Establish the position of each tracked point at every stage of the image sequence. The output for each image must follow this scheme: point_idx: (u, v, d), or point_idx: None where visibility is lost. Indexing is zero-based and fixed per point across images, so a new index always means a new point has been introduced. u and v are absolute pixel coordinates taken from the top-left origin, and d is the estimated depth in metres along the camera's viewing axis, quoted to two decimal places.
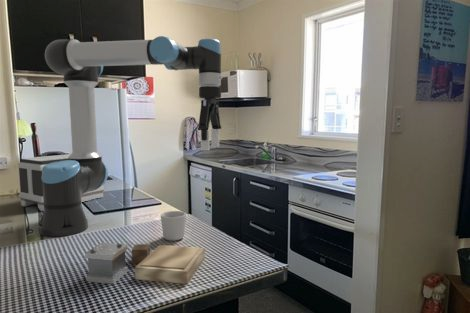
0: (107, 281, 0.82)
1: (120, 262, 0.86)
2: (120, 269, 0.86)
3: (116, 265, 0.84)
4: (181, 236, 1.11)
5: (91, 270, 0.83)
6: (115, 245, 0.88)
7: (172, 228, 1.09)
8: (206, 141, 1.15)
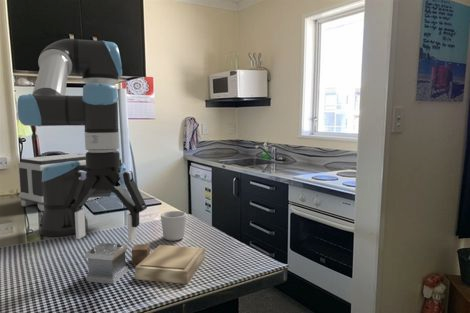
0: (107, 281, 0.82)
1: (120, 262, 0.86)
2: (120, 269, 0.86)
3: (116, 265, 0.84)
4: (181, 236, 1.11)
5: (91, 270, 0.83)
6: (115, 245, 0.88)
7: (172, 228, 1.09)
8: None
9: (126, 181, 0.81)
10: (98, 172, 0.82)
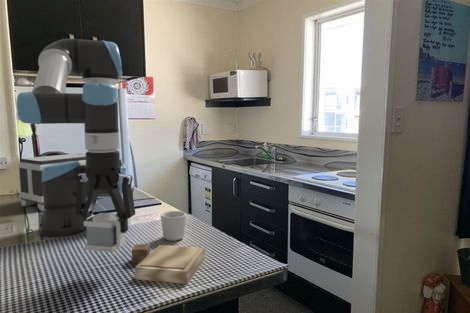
0: (106, 249, 0.82)
1: None
2: None
3: (115, 234, 0.84)
4: (181, 236, 1.11)
5: (90, 238, 0.83)
6: (114, 215, 0.87)
7: (172, 228, 1.09)
8: None
9: (124, 186, 0.82)
10: (98, 172, 0.82)
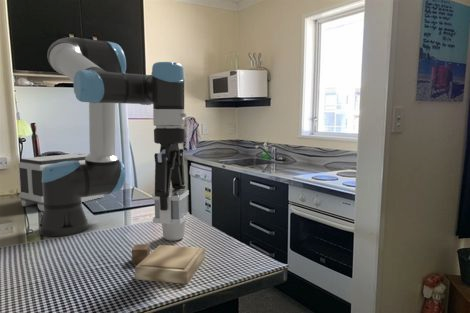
0: (187, 216, 0.90)
1: None
2: None
3: None
4: (181, 236, 1.11)
5: (180, 211, 0.86)
6: None
7: (172, 228, 1.09)
8: (167, 211, 0.84)
9: (182, 157, 0.93)
10: (173, 147, 0.86)
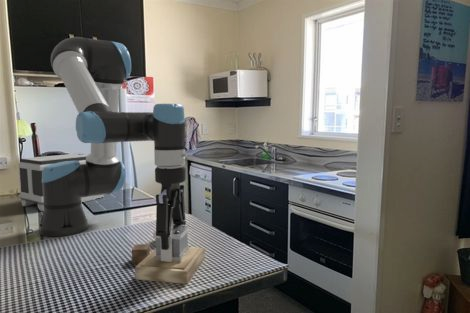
0: (187, 252, 0.91)
1: None
2: None
3: None
4: None
5: (180, 249, 0.87)
6: None
7: None
8: (168, 250, 0.85)
9: (183, 193, 0.94)
10: (174, 186, 0.87)
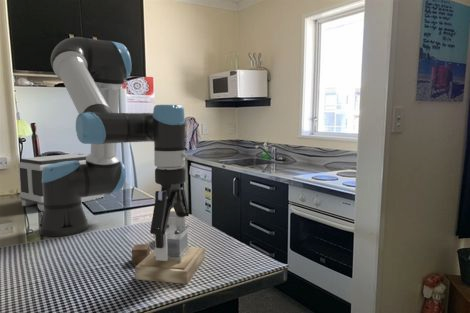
0: (187, 252, 0.91)
1: None
2: None
3: None
4: None
5: (180, 249, 0.87)
6: None
7: None
8: (163, 248, 0.82)
9: (183, 189, 0.94)
10: (173, 187, 0.87)
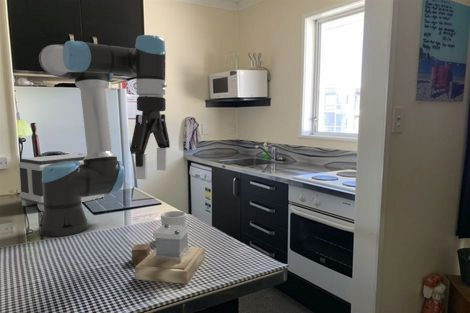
0: (187, 252, 0.91)
1: None
2: None
3: None
4: None
5: (180, 249, 0.87)
6: (164, 227, 0.91)
7: None
8: (142, 168, 0.89)
9: (164, 121, 1.01)
10: (154, 115, 0.94)
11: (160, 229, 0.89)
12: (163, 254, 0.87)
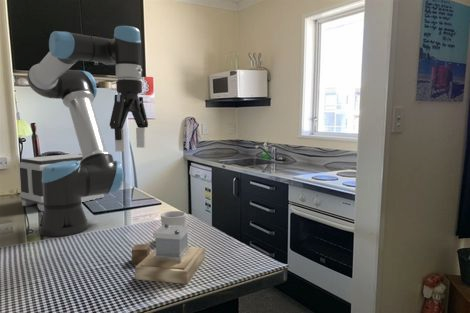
0: (187, 252, 0.91)
1: None
2: None
3: None
4: None
5: (180, 249, 0.87)
6: (164, 227, 0.91)
7: None
8: (121, 141, 1.02)
9: (142, 103, 1.14)
10: (131, 96, 1.07)
11: (160, 229, 0.89)
12: (163, 254, 0.87)
